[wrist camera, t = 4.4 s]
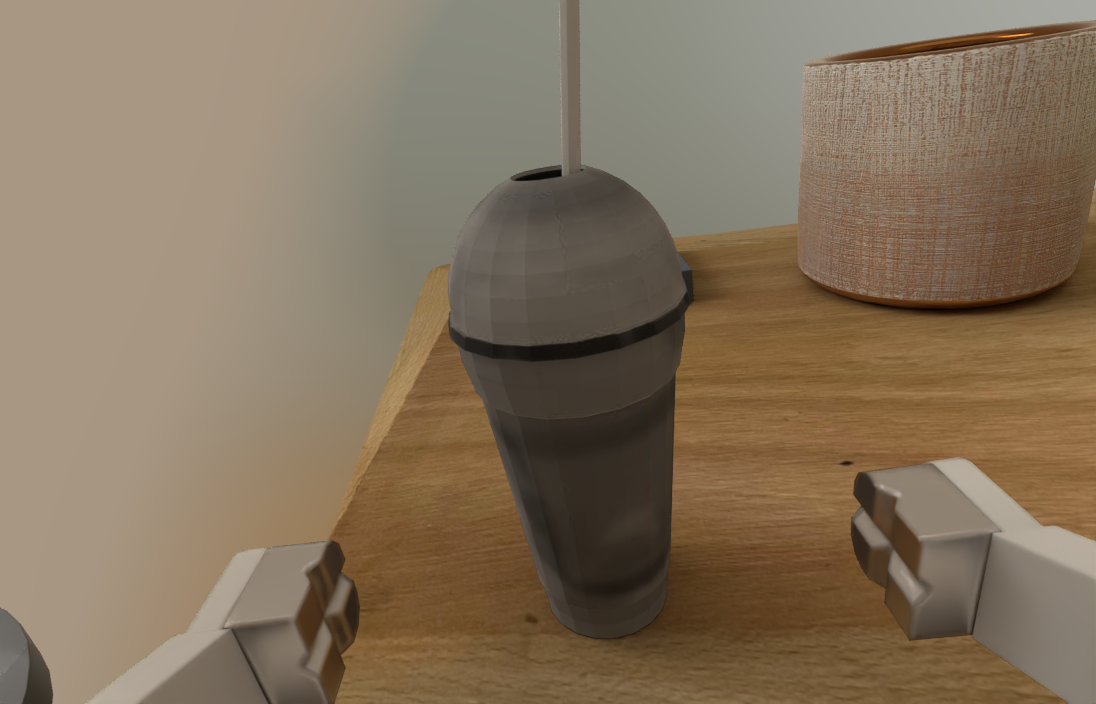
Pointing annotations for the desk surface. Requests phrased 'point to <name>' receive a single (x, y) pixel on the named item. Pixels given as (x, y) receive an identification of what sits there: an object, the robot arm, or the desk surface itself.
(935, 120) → the planter
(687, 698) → the desk surface
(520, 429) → the beverage cup
